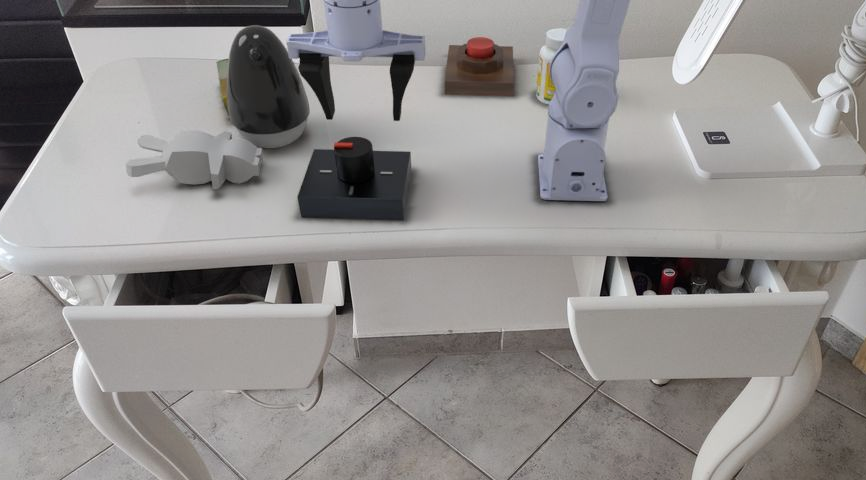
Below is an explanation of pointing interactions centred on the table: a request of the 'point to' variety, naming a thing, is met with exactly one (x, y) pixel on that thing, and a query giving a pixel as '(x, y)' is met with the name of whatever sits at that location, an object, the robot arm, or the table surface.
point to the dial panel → (356, 188)
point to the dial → (354, 159)
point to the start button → (480, 48)
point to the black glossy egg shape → (265, 90)
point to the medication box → (223, 80)
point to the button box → (479, 72)
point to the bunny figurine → (199, 158)
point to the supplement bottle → (548, 64)
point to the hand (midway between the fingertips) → (364, 115)
